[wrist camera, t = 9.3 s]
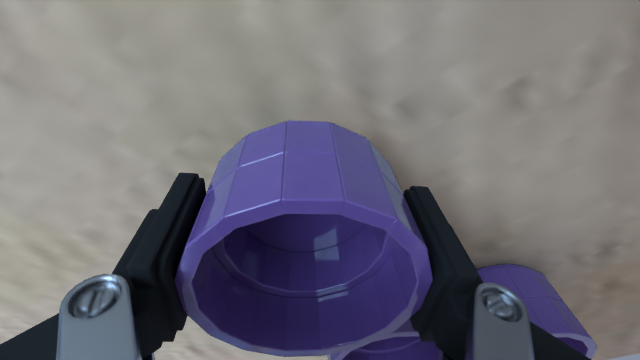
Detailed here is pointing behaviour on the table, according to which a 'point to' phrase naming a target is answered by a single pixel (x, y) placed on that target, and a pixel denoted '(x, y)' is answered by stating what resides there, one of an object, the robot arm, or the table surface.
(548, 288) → the purple cup
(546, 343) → the robot arm
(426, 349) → the dish middle
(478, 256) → the table surface
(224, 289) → the dish inner
